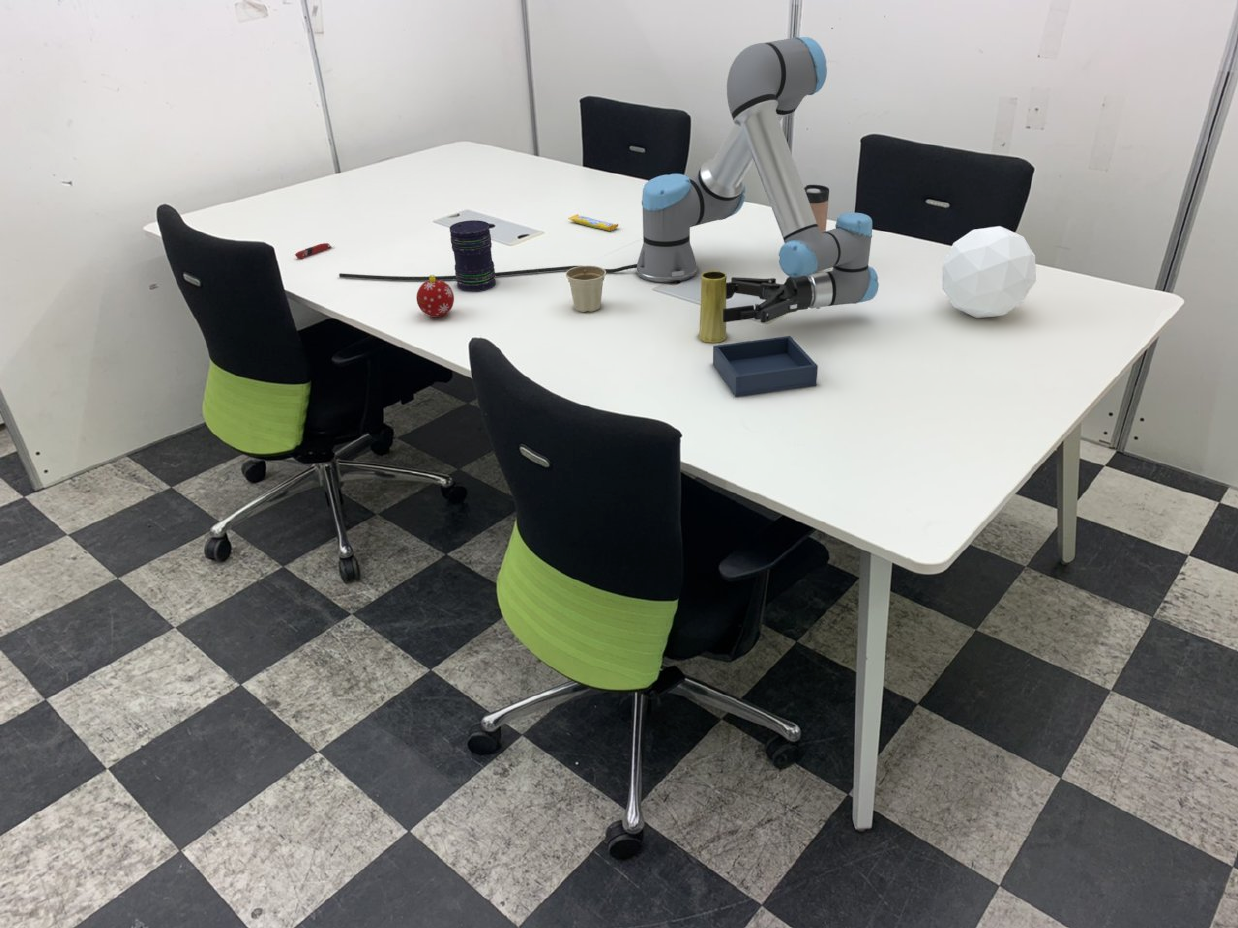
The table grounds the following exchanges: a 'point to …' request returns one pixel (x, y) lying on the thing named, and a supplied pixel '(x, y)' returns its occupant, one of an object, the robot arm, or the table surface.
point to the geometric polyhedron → (988, 272)
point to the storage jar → (472, 255)
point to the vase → (713, 307)
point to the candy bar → (593, 223)
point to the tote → (764, 366)
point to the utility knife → (312, 250)
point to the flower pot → (586, 287)
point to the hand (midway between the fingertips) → (713, 303)
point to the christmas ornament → (435, 297)
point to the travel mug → (818, 203)
